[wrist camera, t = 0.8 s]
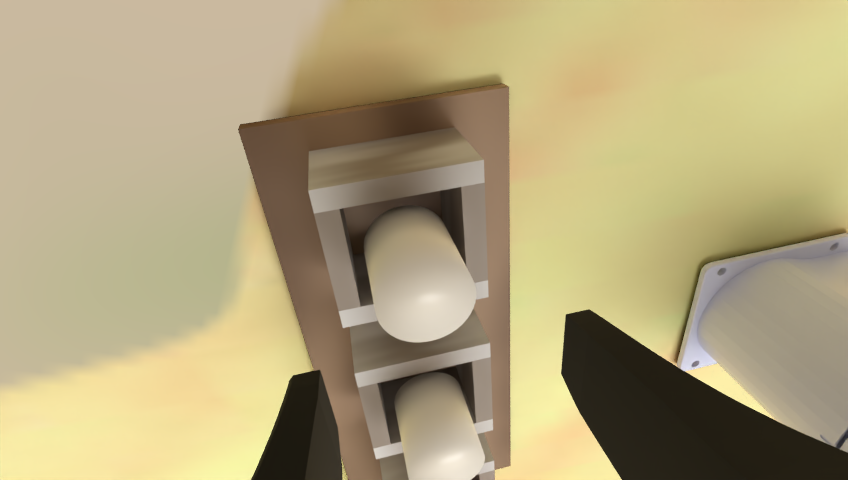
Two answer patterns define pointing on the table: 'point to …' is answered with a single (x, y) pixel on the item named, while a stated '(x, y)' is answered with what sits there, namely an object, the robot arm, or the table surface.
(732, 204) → the table surface
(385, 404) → the board
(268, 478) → the robot arm
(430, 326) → the plug
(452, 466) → the plug
